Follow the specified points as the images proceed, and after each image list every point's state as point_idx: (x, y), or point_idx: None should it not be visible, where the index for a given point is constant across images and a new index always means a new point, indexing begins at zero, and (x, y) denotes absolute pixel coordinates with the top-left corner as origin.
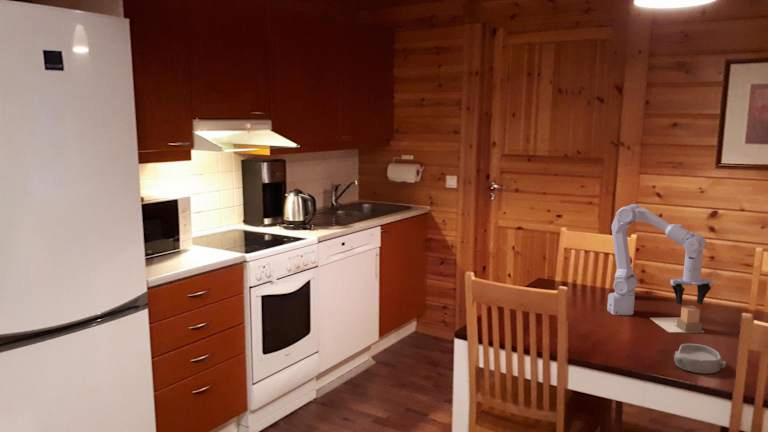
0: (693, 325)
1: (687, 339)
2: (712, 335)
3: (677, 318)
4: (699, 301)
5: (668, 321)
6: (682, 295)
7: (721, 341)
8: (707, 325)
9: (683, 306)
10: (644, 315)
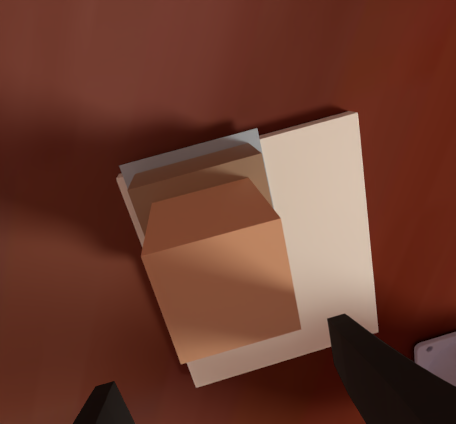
0: (197, 168)
1: (253, 44)
2: (64, 166)
3: None
4: (116, 421)
5: None
6: (407, 399)
7: (16, 50)
8: (69, 333)
9: (287, 321)
10: None
